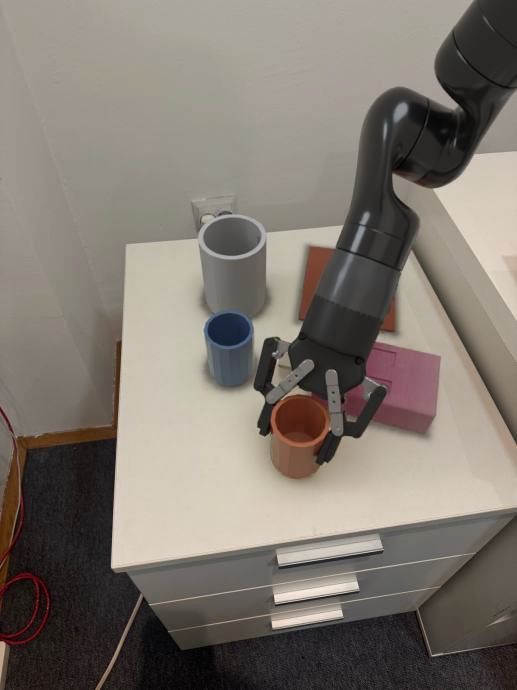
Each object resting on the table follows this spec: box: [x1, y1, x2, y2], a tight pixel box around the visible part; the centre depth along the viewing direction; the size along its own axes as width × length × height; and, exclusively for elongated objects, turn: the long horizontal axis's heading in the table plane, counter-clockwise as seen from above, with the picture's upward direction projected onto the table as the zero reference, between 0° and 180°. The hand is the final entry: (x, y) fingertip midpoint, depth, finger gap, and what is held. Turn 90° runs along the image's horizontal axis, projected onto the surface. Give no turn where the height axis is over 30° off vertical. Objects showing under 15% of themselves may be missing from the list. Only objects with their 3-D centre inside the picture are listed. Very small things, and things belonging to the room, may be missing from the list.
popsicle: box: [277, 340, 442, 434], centre depth 63 cm, size 9×5×20 cm
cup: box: [197, 213, 268, 318], centre depth 70 cm, size 9×9×12 cm
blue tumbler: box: [203, 310, 255, 388], centre depth 63 cm, size 6×6×8 cm
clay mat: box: [298, 245, 396, 333], centre depth 76 cm, size 14×16×1 cm
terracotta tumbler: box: [269, 393, 331, 480], centre depth 54 cm, size 6×6×8 cm
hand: (291, 447), depth 52 cm, fingers closed on terracotta tumbler, 6 cm apart
